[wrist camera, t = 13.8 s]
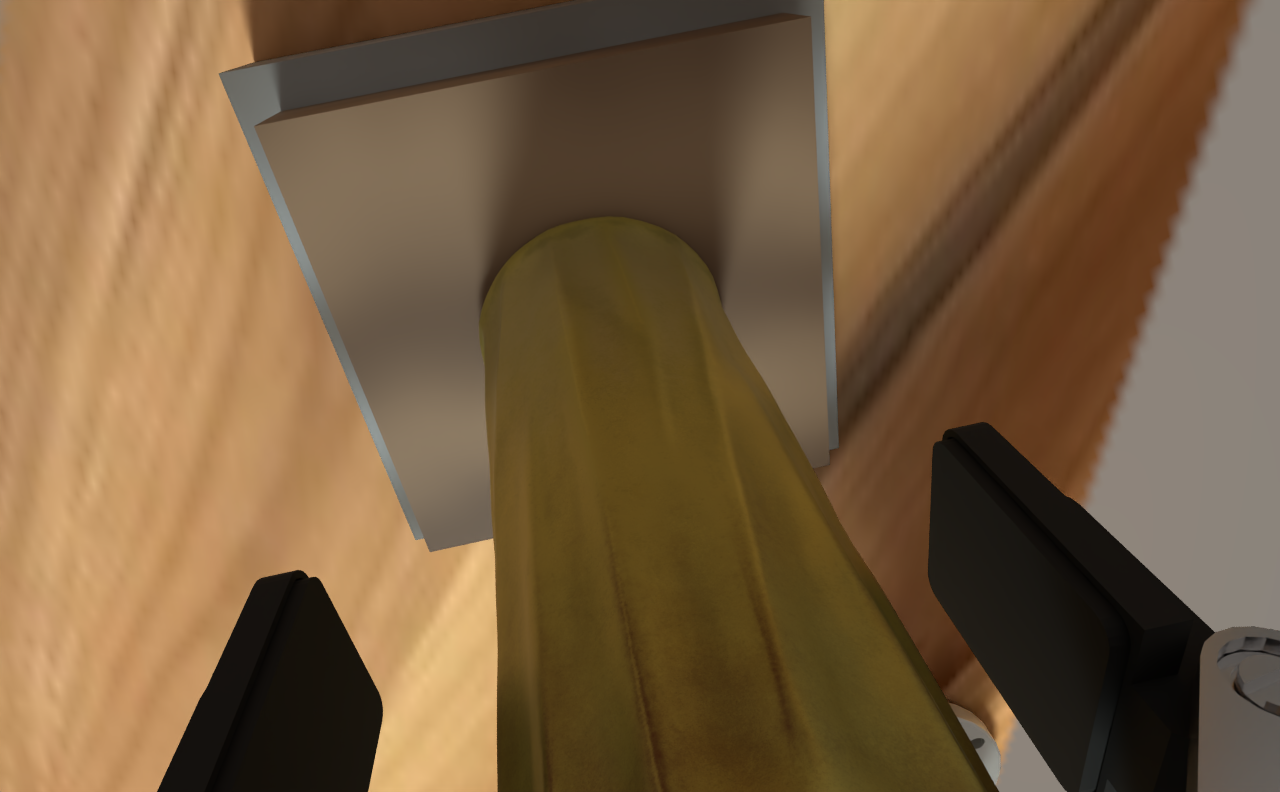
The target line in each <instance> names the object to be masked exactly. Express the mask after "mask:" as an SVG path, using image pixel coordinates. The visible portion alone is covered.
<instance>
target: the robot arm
mask: <svg viewBox="0 0 1280 792" xmlns="http://www.w3.org/2000/svg"><path fill="white" fill-rule="evenodd" d="M928 577H929V581H930V585H931V588H932V590H933V592H934V594H935V596H936V598H937V599H938V601H939V602H940V604H941V605H942V607H943V608H944V610H945V611H946V613H947V614H948V616H949V617H950V619H951V620H952V622H953V623H954V625H955V626H956V628H957V629H958V631H959V632H960V634H961V635H962V637H963V638H964V640H965V641H966V643H967V644H968V646H969V647H970V649H971V650H972V652H973V653H974V655H975V656H976V658H977V659H978V661H979V662H980V664H981V665H982V667H983V668H984V670H985V671H986V673H987V674H988V676H989V677H990V679H991V680H992V682H993V683H994V685H995V686H996V688H997V689H998V691H999V692H1000V694H1001V695H1002V697H1003V698H1004V700H1005V701H1006V703H1007V704H1008V706H1009V707H1010V709H1011V710H1012V712H1013V713H1014V715H1015V716H1016V718H1017V719H1018V721H1019V722H1020V724H1021V725H1022V727H1023V728H1024V730H1025V731H1026V733H1027V734H1028V736H1029V737H1030V739H1031V740H1032V742H1033V743H1034V745H1035V747H1036V748H1037V750H1038V751H1039V752H1040V754H1041V756H1042V757H1043V759H1044V760H1045V761H1046V763H1047V765H1048V766H1049V768H1050V769H1051V771H1052V772H1053V773H1054V775H1055V777H1056V778H1057V780H1058V781H1059V782H1060V784H1061V785H1062V786H1063V788H1064V789H1065V790H1066V791H1067V792H1280V631H1278V630H1273V629H1266V628H1260V627H1254V626H1251V627H1231V628H1228V629H1225V630H1222V631H1219V632H1214V631H1213V630H1212V629H1211V628H1210V627H1209V626H1208V625H1207V624H1205V623H1204V622H1203V621H1202V620H1201V619H1200V618H1199V617H1198V616H1197V615H1196V614H1195V613H1194V612H1193V611H1191V609H1190V608H1188V606H1186V605H1185V604H1184V603H1183V602H1182V601H1181V600H1180V599H1179V598H1178V597H1177V596H1176V595H1175V594H1174V593H1173V592H1172V591H1171V590H1170V589H1168V588H1167V587H1166V586H1165V585H1164V584H1163V583H1162V582H1161V581H1160V580H1159V579H1158V578H1157V577H1156V576H1155V575H1153V574H1152V573H1151V572H1150V571H1149V570H1148V569H1147V568H1146V567H1145V566H1144V565H1143V564H1142V563H1141V562H1140V561H1139V560H1138V559H1137V558H1136V557H1135V556H1133V555H1132V554H1131V553H1130V552H1129V551H1128V550H1127V549H1126V548H1125V547H1124V546H1123V545H1122V544H1121V543H1120V542H1119V541H1118V540H1117V539H1115V538H1114V537H1113V536H1112V535H1111V534H1110V533H1109V532H1108V531H1107V530H1106V529H1105V528H1104V527H1103V526H1102V525H1101V524H1100V523H1098V522H1097V521H1096V520H1095V519H1094V518H1093V517H1092V516H1091V515H1090V514H1089V513H1088V512H1087V511H1086V510H1085V509H1084V508H1083V507H1082V506H1080V505H1079V504H1078V503H1077V502H1075V501H1074V500H1073V499H1071V498H1069V497H1066V496H1065V495H1064V494H1063V493H1061V492H1060V491H1059V490H1058V489H1057V488H1056V487H1055V486H1054V485H1053V484H1052V483H1051V482H1050V481H1049V480H1048V479H1047V478H1046V477H1045V476H1044V475H1043V474H1042V473H1040V472H1039V471H1038V470H1037V469H1036V468H1035V467H1034V466H1033V465H1032V464H1031V463H1030V462H1029V461H1028V460H1027V459H1026V458H1025V457H1024V456H1023V455H1022V454H1021V453H1019V452H1018V451H1017V450H1016V449H1015V448H1014V447H1013V446H1012V445H1011V444H1010V443H1009V442H1008V441H1007V440H1006V439H1005V438H1004V437H1003V436H1002V435H1001V434H1000V433H998V432H997V431H996V430H995V429H994V428H993V427H992V426H991V425H989V424H988V423H985V422H981V423H976V424H972V425H967V426H962V427H958V428H953V429H948V430H947V431H945V433H944V435H943V439H942V441H939V442H936V443H935V444H934V446H933V457H932V483H931V508H930V533H929V559H928ZM949 704H950V706H951V708H952V709H953V711H954V713H955V715H956V716H957V718H958V720H959V722H960V723H961V725H962V727H963V729H964V730H965V732H966V734H967V736H968V737H969V739H970V741H971V743H972V744H973V746H974V748H975V750H976V751H977V753H978V755H979V757H980V758H981V760H982V762H983V764H984V766H985V767H986V769H987V771H988V773H989V775H990V776H991V778H992V780H993V782H994V784H995V785H996V783H997V780H998V776H999V773H1000V769H1001V757H1000V752H999V750H998V747H997V744H996V742H995V740H994V739H993V737H992V736H991V734H990V732H989V731H988V729H987V728H986V726H985V725H984V723H983V722H982V721H981V720H980V719H979V718H978V717H976V716H975V715H974V714H973V713H972V712H970V711H968V710H966V709H964V708H962V707H960V706H958V705H956V704H952V703H949ZM382 718H383V707H382V701H381V697H380V694H379V692H378V690H377V688H376V686H375V684H374V682H373V680H372V678H371V677H370V675H369V673H368V671H367V669H366V667H365V665H364V663H363V661H362V659H361V657H360V655H359V653H358V652H357V650H356V648H355V646H354V644H353V642H352V640H351V638H350V636H349V634H348V632H347V630H346V628H345V627H344V625H343V623H342V621H341V619H340V617H339V615H338V613H337V611H336V609H335V607H334V605H333V603H332V602H331V600H330V598H329V596H328V594H327V592H326V590H325V588H324V586H323V584H322V583H321V581H320V580H319V579H318V578H317V577H311V578H308V576H307V575H306V573H304V572H303V571H301V570H296V571H292V572H287V573H282V574H278V575H273V576H268V577H264V578H261V579H259V580H257V581H256V583H255V584H254V586H253V588H252V590H251V592H250V595H249V597H248V599H247V601H246V603H245V606H244V608H243V610H242V612H241V614H240V616H239V619H238V621H237V623H236V625H235V627H234V629H233V632H232V634H231V636H230V638H229V640H228V643H227V645H226V647H225V649H224V651H223V653H222V656H221V658H220V660H219V662H218V664H217V667H216V669H215V671H214V673H213V675H212V677H211V680H210V682H209V684H208V686H207V688H206V690H205V691H204V693H203V695H202V696H201V698H200V700H199V702H198V704H197V706H196V709H195V711H194V713H193V715H192V717H191V719H190V722H189V724H188V726H187V728H186V730H185V732H184V735H183V737H182V739H181V741H180V743H179V745H178V748H177V750H176V752H175V754H174V756H173V758H172V761H171V763H170V765H169V767H168V769H167V771H166V774H165V776H164V778H163V780H162V782H161V784H160V787H159V789H158V791H157V792H368V789H369V784H370V779H371V774H372V769H373V764H374V759H375V754H376V749H377V744H378V739H379V734H380V729H381V724H382Z"/></svg>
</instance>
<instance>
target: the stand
mask: <svg viewBox="0 0 1280 792" xmlns="http://www.w3.org/2000/svg"><path fill="white" fill-rule="evenodd" d="M219 76H220V78H221V80H222V83H223V85H224V88H225V90H226V92H227V95H228V97H229V99H230V102H231V104H232V107H233V109H234V111H235V114H236V116H237V118H238V121H239V123H240V125H241V128H242V130H243V133H244V135H245V137H246V140H247V142H248V144H249V147H250V149H251V152H252V154H253V156H254V159H255V161H256V163H257V166H258V168H259V170H260V173H261V175H262V178H263V180H264V182H265V185H266V187H267V189H268V192H269V194H270V197H271V199H272V201H273V204H274V206H275V208H276V211H277V213H278V215H279V218H280V220H281V223H282V225H283V227H284V230H285V232H286V234H287V237H288V239H289V242H290V244H291V246H292V249H293V251H294V253H295V256H296V258H297V260H298V263H299V265H300V268H301V270H302V272H303V275H304V277H305V279H306V282H307V284H308V287H309V289H310V291H311V294H312V296H313V298H314V301H315V303H316V305H317V308H318V310H319V313H320V315H321V317H322V320H323V322H324V324H325V327H326V329H327V332H328V334H329V336H330V339H331V341H332V343H333V346H334V348H335V350H336V353H337V355H338V358H339V360H340V362H341V365H342V367H343V369H344V372H345V374H346V377H347V379H348V381H349V384H350V386H351V388H352V391H353V393H354V395H355V398H356V400H357V403H358V405H359V407H360V410H361V412H362V414H363V417H364V419H365V422H366V424H367V426H368V429H369V431H370V433H371V436H372V438H373V440H374V443H375V445H376V448H377V450H378V452H379V455H380V457H381V459H382V462H383V464H384V467H385V469H386V471H387V474H388V476H389V478H390V481H391V483H392V485H393V488H394V490H395V493H396V495H397V497H398V500H399V502H400V504H401V507H402V509H403V512H404V514H405V516H406V519H407V521H408V523H409V526H410V528H411V530H412V533H413V535H414V538H415V540H418V539H423V538H424V539H425V541H426V544H427V546H428V549H429V551H430V552H433V551H437V550H442V549H446V548H451V547H456V546H460V545H465V544H469V543H474V542H478V541H483V540H488V539H492V538H493V529H492V516H491V495H490V466H489V453H488V443H487V431H486V415H485V366H484V361H483V357H482V353H481V347H480V339H479V320H480V315H481V310H482V307H483V304H484V301H485V298H486V296H487V294H488V291H489V289H490V287H491V285H492V283H493V281H494V279H495V277H496V276H497V274H498V273H499V271H500V270H501V268H502V267H503V266H504V264H505V263H506V262H507V261H508V260H509V259H510V257H511V256H512V255H513V254H514V253H515V252H517V251H518V250H519V249H520V248H521V247H523V246H524V245H525V244H526V243H528V242H529V241H531V240H532V239H534V238H535V237H536V236H538V235H540V234H542V233H543V232H545V231H546V230H548V229H551V228H554V227H556V226H559V225H562V224H566V223H570V222H573V221H578V220H583V219H589V218H596V217H606V216H612V217H626V218H630V219H635V220H640V221H643V222H647V223H650V224H653V225H656V226H659V227H661V228H663V229H665V230H667V231H669V232H671V233H673V234H675V235H676V236H677V237H679V238H680V239H681V240H683V241H684V242H685V243H686V244H688V245H689V246H690V247H691V248H692V249H693V250H694V251H695V252H696V253H697V254H698V255H699V257H700V258H701V259H702V260H703V262H704V263H705V264H706V265H707V267H708V269H709V271H710V273H711V274H712V276H713V278H714V281H715V284H716V287H717V290H718V294H719V297H720V301H721V305H722V308H723V310H724V312H725V314H726V316H727V317H728V319H729V321H730V323H731V325H732V327H733V329H734V331H735V333H736V335H737V337H738V339H739V341H740V343H741V344H742V346H743V348H744V350H745V351H746V353H747V355H748V356H749V358H750V359H751V361H752V362H753V364H754V366H755V367H756V369H757V370H758V372H759V373H760V375H761V376H762V378H763V380H764V381H765V383H766V384H767V386H768V388H769V390H770V391H771V393H772V395H773V397H774V399H775V400H776V402H777V404H778V406H779V408H780V410H781V412H782V414H783V415H784V417H785V419H786V421H787V423H788V424H789V426H790V428H791V430H792V432H793V433H794V435H795V437H796V439H797V441H798V442H799V444H800V446H801V448H802V450H803V452H804V453H805V455H806V457H807V459H808V461H809V463H810V464H811V466H812V468H817V467H822V466H826V465H830V456H829V450H832V449H836V448H839V440H838V410H837V381H836V351H835V322H834V292H833V263H832V233H831V204H830V174H829V144H828V115H827V85H826V56H825V26H824V0H573V1H568V2H563V3H558V4H552V5H547V6H542V7H537V8H532V9H527V10H521V11H516V12H511V13H506V14H501V15H496V16H491V17H485V18H480V19H475V20H470V21H465V22H460V23H455V24H449V25H444V26H439V27H434V28H429V29H424V30H418V31H413V32H408V33H403V34H398V35H393V36H388V37H382V38H377V39H372V40H367V41H362V42H357V43H351V44H346V45H341V46H336V47H331V48H326V49H321V50H315V51H310V52H305V53H300V54H295V55H290V56H284V57H279V58H274V59H269V60H264V61H259V62H254V63H250V64H247V65H244V66H241V67H238V68H235V69H232V70H228V71H225V72H222V73H219Z"/></svg>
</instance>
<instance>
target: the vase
mask: <svg viewBox="0 0 1280 792" xmlns="http://www.w3.org/2000/svg"><path fill="white" fill-rule="evenodd" d="M479 339H480V347H481V353H482V357H483V361H484V366H485V415H486V431H487V443H488V453H489V466H490V495H491V516H492V529H493V539H494V550H495V578H496V610H497V635H498V672H497V774H498V792H999V791H998V789H997V787H996V785H995V784H994V782H993V780H992V778H991V776H990V775H989V773H988V771H987V769H986V767H985V766H984V764H983V762H982V760H981V758H980V757H979V755H978V753H977V751H976V750H975V748H974V746H973V744H972V743H971V741H970V739H969V737H968V736H967V734H966V732H965V730H964V729H963V727H962V725H961V723H960V722H959V720H958V718H957V716H956V715H955V713H954V711H953V709H952V708H951V706H950V704H949V702H948V701H947V699H946V697H945V696H944V694H943V692H942V690H941V689H940V687H939V685H938V684H937V682H936V680H935V678H934V677H933V675H932V673H931V672H930V670H929V668H928V666H927V665H926V663H925V661H924V660H923V658H922V656H921V654H920V653H919V651H918V649H917V648H916V646H915V644H914V643H913V641H912V639H911V637H910V636H909V634H908V632H907V631H906V629H905V627H904V625H903V624H902V622H901V620H900V619H899V617H898V615H897V614H896V612H895V610H894V609H893V607H892V605H891V603H890V602H889V600H888V598H887V597H886V595H885V593H884V592H883V590H882V588H881V587H880V585H879V584H878V582H877V580H876V579H875V577H874V576H873V574H872V572H871V571H870V569H869V568H868V566H867V565H866V563H865V562H864V560H863V559H862V557H861V556H860V554H859V553H858V551H857V550H856V548H855V547H854V545H853V544H852V542H851V540H850V539H849V537H848V535H847V533H846V532H845V530H844V528H843V527H842V525H841V523H840V521H839V519H838V517H837V515H836V513H835V511H834V509H833V507H832V505H831V503H830V501H829V499H828V497H827V495H826V493H825V491H824V489H823V487H822V485H821V483H820V481H819V479H818V477H817V476H816V474H815V472H814V470H813V468H812V466H811V464H810V463H809V461H808V459H807V457H806V455H805V453H804V452H803V450H802V448H801V446H800V444H799V442H798V441H797V439H796V437H795V435H794V433H793V432H792V430H791V428H790V426H789V424H788V423H787V421H786V419H785V417H784V415H783V414H782V412H781V410H780V408H779V406H778V404H777V402H776V400H775V399H774V397H773V395H772V393H771V391H770V390H769V388H768V386H767V384H766V383H765V381H764V380H763V378H762V376H761V375H760V373H759V372H758V370H757V369H756V367H755V366H754V364H753V362H752V361H751V359H750V358H749V356H748V355H747V353H746V351H745V350H744V348H743V346H742V344H741V343H740V341H739V339H738V337H737V335H736V333H735V331H734V329H733V327H732V325H731V323H730V321H729V319H728V317H727V316H726V314H725V312H724V310H723V308H722V305H721V301H720V297H719V294H718V290H717V287H716V284H715V281H714V278H713V276H712V274H711V273H710V271H709V269H708V267H707V265H706V264H705V263H704V262H703V260H702V259H701V258H700V257H699V255H698V254H697V253H696V252H695V251H694V250H693V249H692V248H691V247H690V246H689V245H688V244H686V243H685V242H684V241H683V240H681V239H680V238H679V237H677V236H676V235H675V234H673V233H671V232H669V231H667V230H665V229H663V228H661V227H659V226H656V225H653V224H650V223H647V222H643V221H640V220H635V219H630V218H626V217H612V216H606V217H596V218H589V219H583V220H578V221H573V222H570V223H566V224H562V225H559V226H556V227H554V228H551V229H548V230H546V231H545V232H543V233H542V234H540V235H538V236H536V237H535V238H534V239H532V240H531V241H529V242H528V243H526V244H525V245H524V246H523V247H521V248H520V249H519V250H518V251H517V252H515V253H514V254H513V255H512V256H511V257H510V259H509V260H508V261H507V262H506V263H505V264H504V266H503V267H502V268H501V270H500V271H499V273H498V274H497V276H496V277H495V279H494V281H493V283H492V285H491V287H490V289H489V291H488V294H487V296H486V298H485V301H484V304H483V307H482V310H481V315H480V320H479Z"/></svg>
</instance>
